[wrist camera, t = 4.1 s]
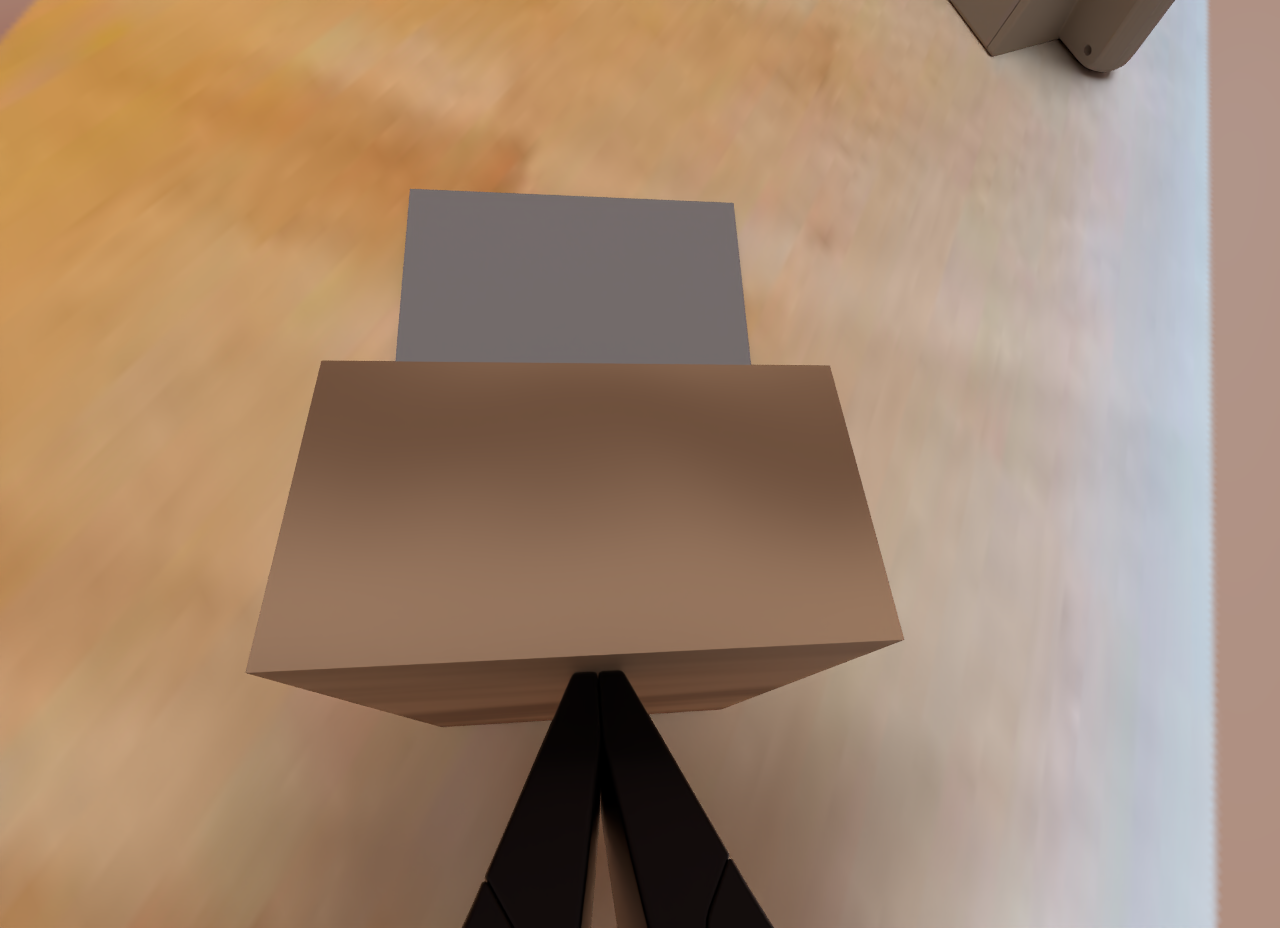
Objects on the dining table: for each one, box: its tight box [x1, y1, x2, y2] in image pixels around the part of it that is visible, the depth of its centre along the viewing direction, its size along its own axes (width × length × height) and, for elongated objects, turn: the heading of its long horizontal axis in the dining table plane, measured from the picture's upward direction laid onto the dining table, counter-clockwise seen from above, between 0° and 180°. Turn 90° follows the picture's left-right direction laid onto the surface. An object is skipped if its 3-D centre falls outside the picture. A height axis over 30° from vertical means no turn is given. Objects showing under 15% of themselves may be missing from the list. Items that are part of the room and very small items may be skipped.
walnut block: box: [246, 361, 904, 727], centre depth 14 cm, size 5×9×12 cm, turn 92°
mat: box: [396, 189, 751, 365], centre depth 22 cm, size 15×14×2 cm
